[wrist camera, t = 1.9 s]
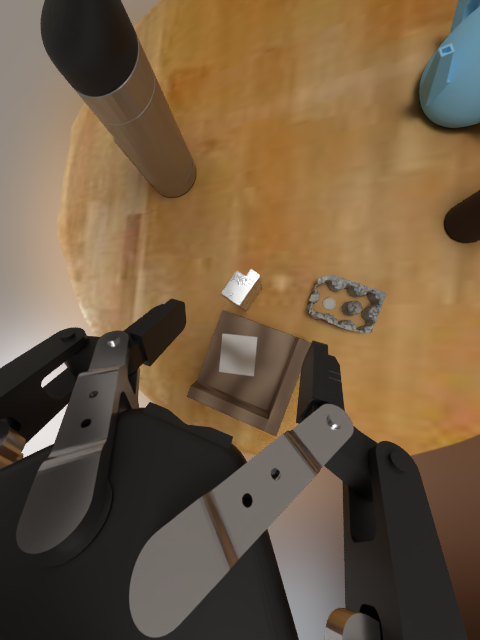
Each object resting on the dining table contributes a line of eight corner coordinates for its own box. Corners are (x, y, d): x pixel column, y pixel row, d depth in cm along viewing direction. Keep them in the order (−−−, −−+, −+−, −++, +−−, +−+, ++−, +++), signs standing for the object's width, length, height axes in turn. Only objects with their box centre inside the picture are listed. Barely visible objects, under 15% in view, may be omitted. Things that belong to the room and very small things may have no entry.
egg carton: (301, 315, 35) (305, 314, 31) (316, 276, 35) (323, 269, 31) (361, 336, 33) (374, 338, 29) (377, 296, 33) (392, 292, 29)
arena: (195, 388, 37) (186, 396, 33) (223, 310, 37) (218, 308, 33) (274, 423, 35) (275, 436, 31) (306, 340, 34) (311, 342, 30)
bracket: (223, 294, 37) (206, 283, 27) (238, 272, 36) (227, 253, 27) (246, 310, 36) (238, 305, 26) (262, 288, 36) (260, 275, 26)
